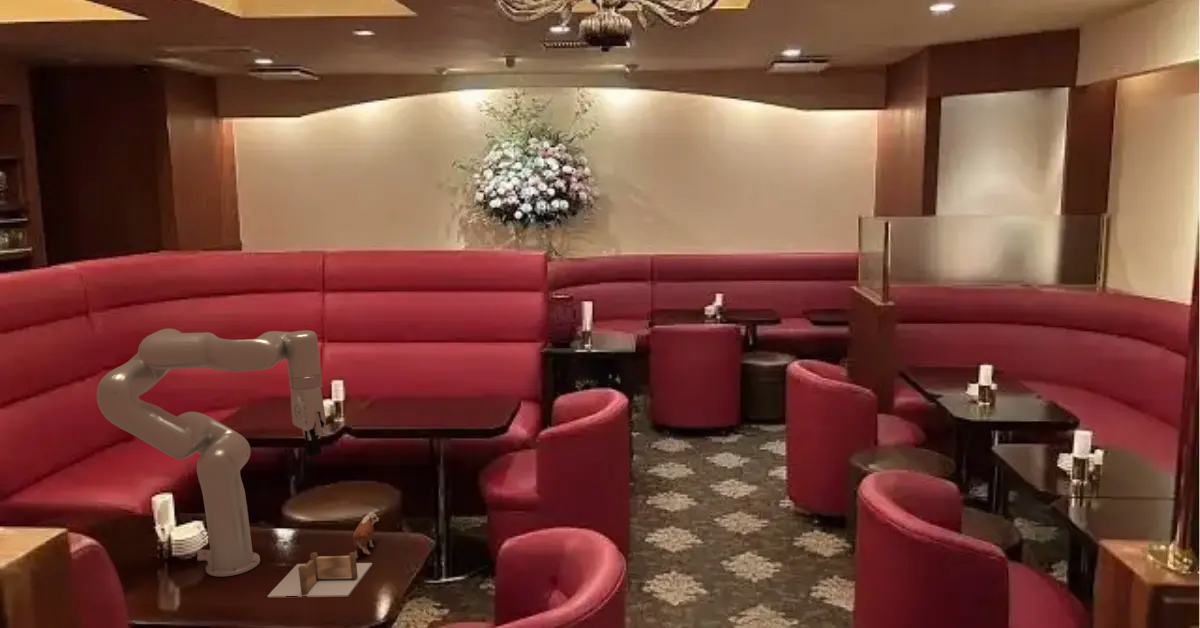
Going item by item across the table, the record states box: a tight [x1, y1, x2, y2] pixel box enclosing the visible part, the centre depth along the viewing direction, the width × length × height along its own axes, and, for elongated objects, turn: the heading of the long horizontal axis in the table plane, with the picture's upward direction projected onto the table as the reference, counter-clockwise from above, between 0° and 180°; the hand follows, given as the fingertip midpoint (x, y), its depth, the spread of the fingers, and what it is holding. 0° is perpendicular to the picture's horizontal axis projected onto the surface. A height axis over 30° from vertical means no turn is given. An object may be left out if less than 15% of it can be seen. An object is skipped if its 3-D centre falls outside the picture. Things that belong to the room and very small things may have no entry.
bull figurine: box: [352, 511, 380, 559], centre depth 240 cm, size 4×13×8 cm, turn 174°
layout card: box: [267, 562, 373, 598], centre depth 224 cm, size 19×17×1 cm
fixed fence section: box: [298, 559, 316, 595], centre depth 219 cm, size 2×6×6 cm, turn 175°
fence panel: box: [310, 551, 358, 580], centre depth 223 cm, size 11×2×6 cm, turn 87°
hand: (313, 454), depth 233 cm, fingers closed
